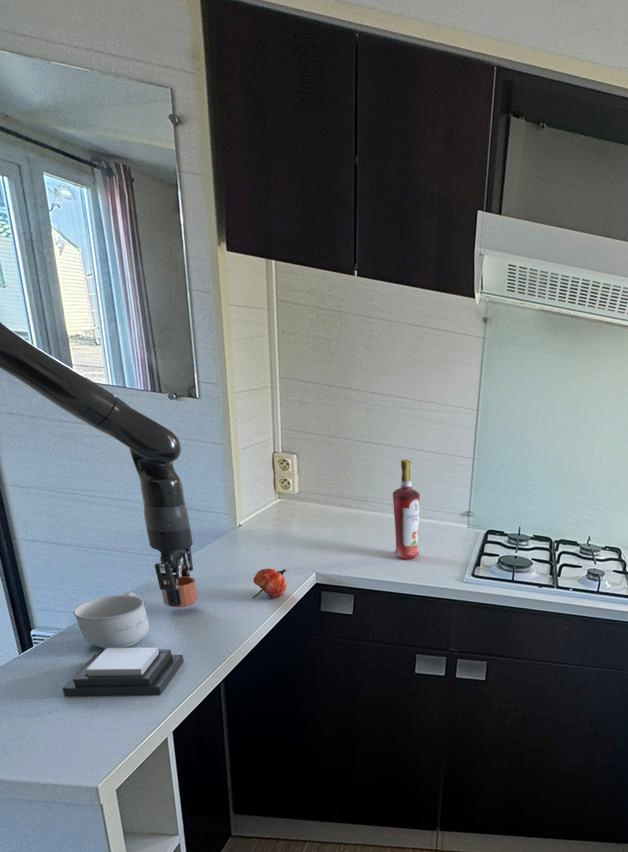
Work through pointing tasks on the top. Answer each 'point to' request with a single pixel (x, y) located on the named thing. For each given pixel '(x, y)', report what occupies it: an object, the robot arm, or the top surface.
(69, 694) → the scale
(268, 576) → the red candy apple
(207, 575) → the top surface
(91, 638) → the teacup
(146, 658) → the pale square tile
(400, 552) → the liquor
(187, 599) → the orange cup
